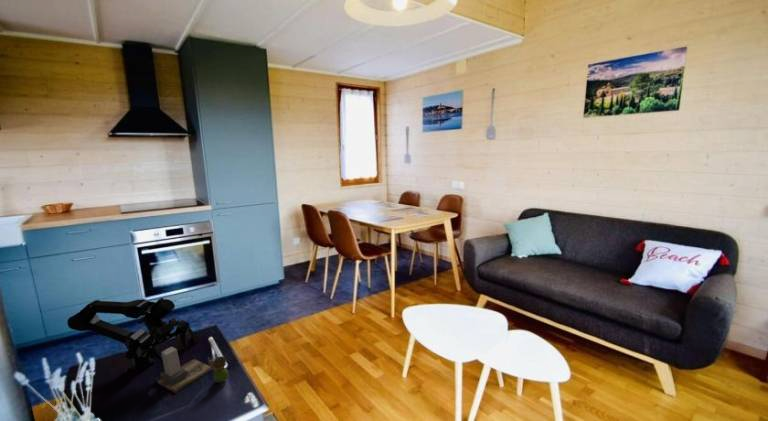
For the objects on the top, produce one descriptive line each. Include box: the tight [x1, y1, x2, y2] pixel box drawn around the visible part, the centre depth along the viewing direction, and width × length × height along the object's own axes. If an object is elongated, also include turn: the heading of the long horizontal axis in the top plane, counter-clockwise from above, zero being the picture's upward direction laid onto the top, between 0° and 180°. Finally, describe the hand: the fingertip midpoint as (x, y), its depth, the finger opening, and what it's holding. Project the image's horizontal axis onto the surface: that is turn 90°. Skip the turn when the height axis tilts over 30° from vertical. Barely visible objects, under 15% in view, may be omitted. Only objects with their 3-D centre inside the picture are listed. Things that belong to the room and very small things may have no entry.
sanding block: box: [160, 346, 187, 385], centre depth 135 cm, size 8×6×12 cm
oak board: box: [157, 358, 213, 394], centre depth 139 cm, size 12×15×1 cm
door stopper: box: [172, 318, 200, 352], centre depth 160 cm, size 9×6×12 cm, turn 148°
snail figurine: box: [207, 356, 230, 384], centre depth 134 cm, size 5×6×12 cm
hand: (174, 356), depth 139 cm, fingers open, 9 cm apart
